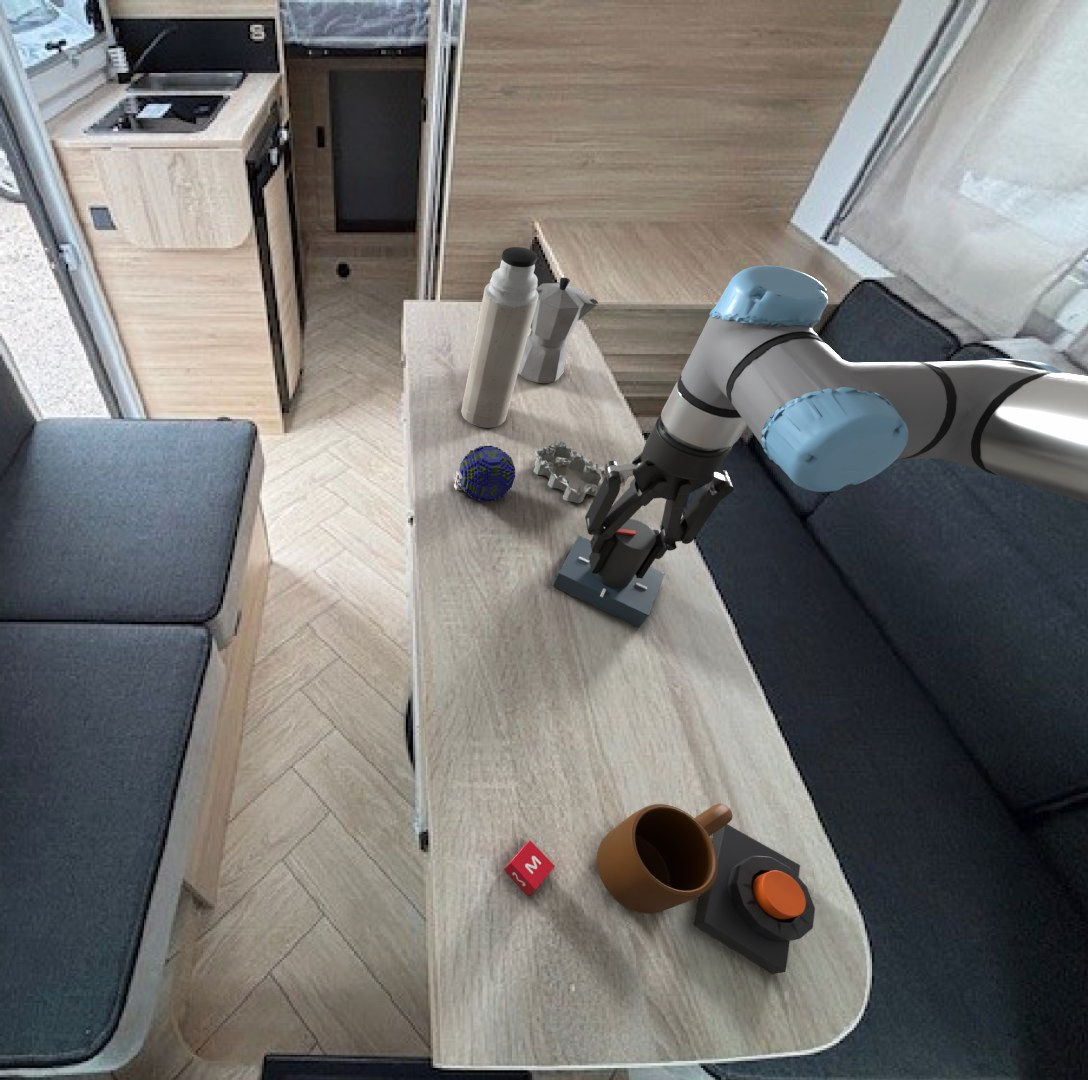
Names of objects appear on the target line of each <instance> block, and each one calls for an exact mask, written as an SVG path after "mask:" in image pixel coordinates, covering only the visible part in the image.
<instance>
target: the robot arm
mask: <svg viewBox="0 0 1088 1080" xmlns="http://www.w3.org/2000/svg"><path fill="white" fill-rule="evenodd" d="M827 293H828V291H827V288H826V287H825V286H824V284H823V283H822V282H820V281H819V280H818V279H816V278H814V277H813V276H811V275H809V274H807V273H805V272H801V271H799V270H796V269H793V268H790V267H785V266H778V265H755V266H750V267H747V268H745V269H742V270H740V271H739V272H738V273H736V274H735V275H734V276H733V277H732V278H731V279H730V281H729V283H728V284H727V286H726V287H725V289H724V291H723V293H722V295H721V296H720V298H719V299H718V301H717V302H716V305H715V306H714V308H712V309H711V310H710V311H709V314H708V315H709V317H708V319H707V321H706V322H705V325H704V327H703V329H702V332H701V333H700V335H699V337H698V339H697V341H696V343H695V345H694V347H693V349H692V351H691V353H690V355H689V357H688V359H687V361H686V363H685V365H684V367H683V369H682V371H681V373H680V376H679V377H678V379H677V381H676V383H675V384H674V387H673V389H672V390H671V393H670V395H669V396H668V399H667V400H666V402H665V404H664V406H663V408H662V410H661V413H660V416H659V417H658V418H657V419H656V420H655V423H654V426H653V427H652V429H651V430H650V433H649V435H648V437H647V439H646V441H645V443H644V446H643V449H642V452H641V453H640V454H639V455H638V456H637V457H635V458H634V459H633V460H632V462H631V463H626V464H618V463H617V461H615V460H608V461H607V462H605V465H604V468H605V478H604V480H603V481H602V484H601V486H600V488H599V490H598V492H597V494H596V495H595V496H594V498H593V500H592V502H591V503H590V506H589V508H588V509H587V512H586V514H585V517H584V520H585V525H586V529H587V534H589V535H591V536H592V537H591V539H590V540H591V541H590V544H591V549H592V552H591V554H590V556H589V561H590V566H591V572H592V573H594V574H598V572H599V570H600V569H601V567H602V565H603V563H604V561H605V560H606V558H607V556H608V554H609V552H610V551H611V549H612V547H613V545H614V543H615V538H614V534H615V533H616V532H617V531H618V530H619V529H620V528H621V527H622V526H623V525H624V524H625V523H626V522H627V521H628V520H629V519H632V517H633V516H634V515H635V514H636V513H637V512H638V511H639V510H640V509H641V508H642V507H647V506H648V505H649V504H650V503H651V502H652V501H653V500H654V499H664V500H665V504H664V510H663V514H662V517H661V523H660V527H659V529H660V530H659V529H652V530H653V532H654V534H655V536H656V542H655V544H654V546H653V548H652V549H651V551H650V552H649V554H648V555H647V557H646V558H645V560H644V562H643V563H642V565H641V566H640V568H639V569H638V571H637V573H636V578H643V577H644V575H645V574H646V572H647V571H648V569H649V567H652V564H653V563H654V561H655V560H661V558H663V557H664V556H665V554H666V552H667V551H675V550H676V549H677V542H681V543H682V544H684V545H687V544H691V543H692V542H693V541H694V539H696V537H697V535H698V534H699V533H700V531H701V529H702V528H703V527H704V525H705V524H706V522H707V521H708V520H709V518H710V517H711V515H712V513H713V512H714V510H716V508H717V506H718V505H719V503H720V502H721V501H722V500H724V499H725V498H726V497H727V496H729V495H730V494H731V493H733V491H734V489H735V487H734V486H733V483H732V480H731V478H730V476H729V473H728V472H727V470H720V471H718V470H719V469H720V467H721V466H722V464H723V462H724V461H725V460H726V458H727V457H728V455H729V454H730V452H731V451H732V449H733V446H734V445H735V444H736V443H737V442H738V441H739V440H740V438H741V436H742V434H743V433H744V432H745V430H746V429H747V427H748V428H749V429H750V431H751V433H752V434H753V435H754V437H755V438H756V439H757V441H758V442H759V444H760V445H761V447H762V448H763V451H764V453H765V454H766V456H767V457H768V458H769V460H770V461H773V462H774V464H775V465H778V466H779V468H780V469H781V470H782V471H783V472H784V473H785V474H786V475H787V477H788V478H789V479H790V480H791V481H792V482H793V483H794V484H795V485H796V486H798V487H800V488H802V489H804V490H807V491H811V492H815V493H817V492H818V493H828V492H835V491H836V492H837V491H840V490H841V489H843V488H844V487H846V486H849V485H854V486H856V485H860V484H861V483H864V482H867V481H869V480H870V479H872V478H874V477H875V476H877V475H878V474H880V473H882V472H883V471H885V470H886V469H887V468H888V467H890V466H891V465H892V464H893V463H894V462H895V461H897V460H926V459H927V460H929V459H930V460H931V459H933V460H934V459H935V460H936V459H937V460H944V461H948V462H953V463H956V464H959V465H962V466H965V467H968V468H971V469H975V470H978V471H982V472H984V473H987V474H991V475H994V476H1000V477H1003V478H1005V479H1009V480H1012V481H1015V482H1019V483H1022V484H1025V485H1028V486H1032V487H1034V488H1037V489H1041V490H1044V491H1047V492H1050V493H1054V494H1056V495H1060V496H1062V497H1066V498H1069V499H1072V500H1076V501H1078V502H1082V503H1085V504H1088V376H1087V375H1082V374H1081V375H1080V374H1075V373H1074V374H1073V373H1066V372H1063V371H1061V370H1060V369H1058V368H1057V367H1055V366H1054V365H1051V364H1048V363H1045V362H1041V361H1030V360H1022V359H1016V358H1015V359H1013V358H986V359H981V360H960V361H959V360H955V361H887V362H886V361H885V362H884V361H883V362H882V361H881V362H879V361H876V362H874V361H871V362H870V361H869V362H850V361H847V360H845V359H842V357H841V356H840V355H839V354H837V353H836V352H835V350H833V349H832V348H831V347H830V345H828V344H827V343H825V341H824V340H823V338H821V337H820V336H819V334H817V333H816V331H814V327H815V326H816V325H817V324H819V322H820V321H821V318H822V315H823V313H824V310H825V309H826V307H827V305H828V303H829V297H828V294H827ZM630 477H633V480H631V482H630V483H629V487H628V489H627V490H626V491H624V493H623V494H622V495H621V496H620V497H619V498H618V499H617V497H618V495H619V494H620V491H621V488H623V487H624V486H625V485H626V482H627V481H628V479H629V478H630ZM697 490H699V491H698V492H697V494H695V495H696V496H694V499H693V500H692V502H691V503H690V505H689V507H688V508H687V505H688V502H689V497H690V495H691V493H693V492H695V491H697ZM616 499H617V501H616ZM686 508H687V509H686ZM684 509H686V511H685V512H684Z"/></svg>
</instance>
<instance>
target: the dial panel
mask: <svg viewBox="0 0 1088 1080" xmlns="http://www.w3.org/2000/svg"><path fill="white" fill-rule="evenodd" d="M590 541H591V539H589V538H586V537H584V536H582V535H580V534H579V535H578V536H577V538H576V540H575V542H574V543H573V545H572V547H571V549H570V551H569V553H568V554H567V557H566V558H565V560H564V562H563V563H562V566H561V568H560V570H559V572H558V573H557V576H556V578H555V579H554V582H553V584H552V587H554V588H555V589H557V590H560V591H562V592H564V593H566V594H568V595H570V596H572V597H574V598H576V599H579V600H581V601H583V602H585V603H587V604H589V605H591V606H593V607H595V608H597V609H599V610H601V611H603V612H605V613H608V614H610V615H611V616H614V617H617V618H618V619H620V620H622V621H625V622H626V623H629V624H630V625H633V626H635V627H636V628H638V629H639V628H641V627H642V625H644V623H645V622H646V620H647V619H648V617H649V616H650V614H651V611H652V608H653V606H654V603H655V601H656V598H657V595H658V593H659V590H660V588H661V585H662V583H663V580H664V577H665V575H666V573H665V572H663V571H661V570H659V569H656V568H654V567H652V566H650V567H649V569H648V571H647V572H646V574H645V575H644V577H643V578H636V574H635V576H634V577H633V579H632V580H631V582H630V583H629V584H628V585H627V586H625V587H623V588H612V587H609V586H606V585H605V584H603V583H601V582H600V581H599V580H598V579H597V578H596V576H595V574H594V573H592V572H591V566H590V561H589V556H590V554H591V552H592V549H591V544H590Z"/></svg>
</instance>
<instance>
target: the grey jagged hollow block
mask: <svg viewBox="0 0 1088 1080" xmlns="http://www.w3.org/2000/svg"><path fill="white" fill-rule="evenodd" d="M534 453H535V456H536V459H535V461H534V468H533V473H534V474H535V475H537V476H545V477H547V478H548V479H549V480H548V482H547V486H548V487H549V488H551V489H559V490H561V491H562V492H563V496H562V499H563V500H564V501H565V502H573V503H576V504H579V503H580V504H581V503H583V501H584V499H585V497H586V494H587V495H590V496H592V497H595V496H596V494H597V492H598V490H599V488H600V486H601V484H602V482H603V480H604V478H605V467H604V466H603V465H600V463H598V462H597V463H594V462H593V461H592V459H588V458H586V457H585V456H584V455H583V454H582V453H581V452H578V451H577V450H574V449H572V448H571V447H567V444H566V443H565V442H563V441H560V442H559V443H558V444H557V443H556V442H555V443H553V444H551V445H547V446H542V447H541V449H535V450H534Z"/></svg>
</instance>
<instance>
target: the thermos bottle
mask: <svg viewBox="0 0 1088 1080" xmlns="http://www.w3.org/2000/svg"><path fill="white" fill-rule="evenodd" d="M537 261H538V255H537V253H536V252H535V251H533V250H532V249H529V248H526V247H521V246H511V247H506V248H505V249H504V250H502V253H501V261H500V265H499V268H497V269H495V270H494V271H493V272H492V273H491V278H490V280H489V282H488V283H487V284H486V285H485V287H484V290H483V296H482V300H481V305H480V311H479V315H478V316H479V317H478V321H477V326H476V332H475V337H474V341H473V342H474V343H473V348H472V353H471V359H470V364H469V367H468V374H467V379H466V384H465V389H464V395H463V400H462V404H461V415H462V417H463V419H464V420H465V421H466V422H467V423H469V424H471V425H473V426H475V427H479V428H488V429H489V428H491V429H492V428H495V427H499V426H501V425H503V424H504V422H506V421H507V416H508V412H509V409H510V405H511V402H512V397H513V394H514V390H515V386H516V383H517V379H518V375H519V373H518V371H519V367H520V363H521V360H522V356H523V353H524V349H525V346H526V342H527V338H528V336H529V335H530V332H531V328H530V327H531V323H532V319H533V316H534V312H535V308H536V304H537V301H538V292H537V291H536V288H537V287H539V286H538V285H539V284H538V281H539V279H538V277H537V275H536V274H535V273H534V272H535V269H536V265H535V264H536V263H537Z"/></svg>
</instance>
